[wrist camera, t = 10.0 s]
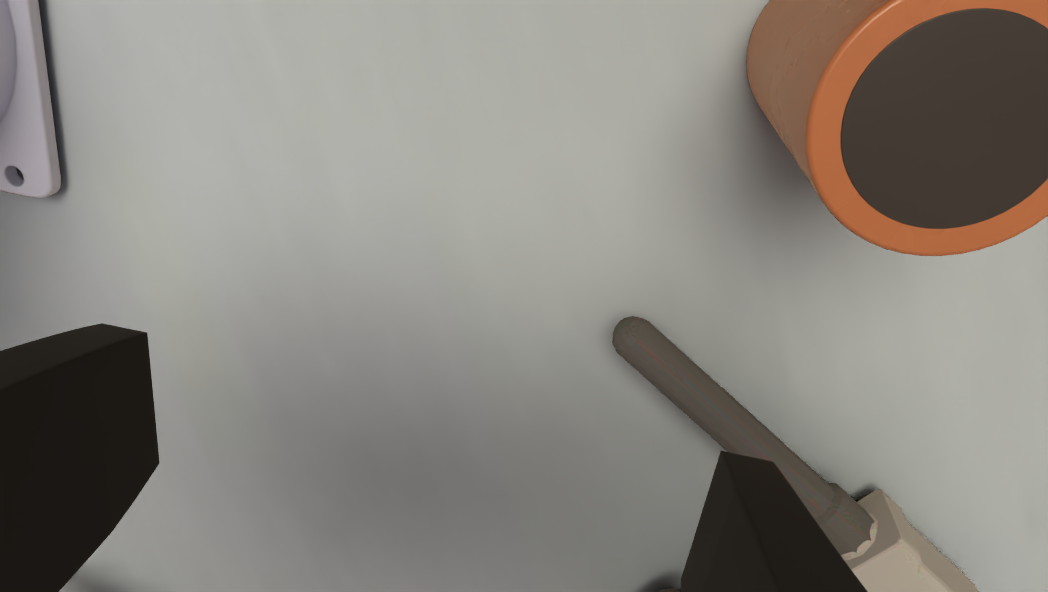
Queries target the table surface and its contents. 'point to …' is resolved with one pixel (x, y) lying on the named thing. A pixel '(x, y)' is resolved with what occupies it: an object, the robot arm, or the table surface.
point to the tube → (912, 114)
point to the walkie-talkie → (796, 474)
